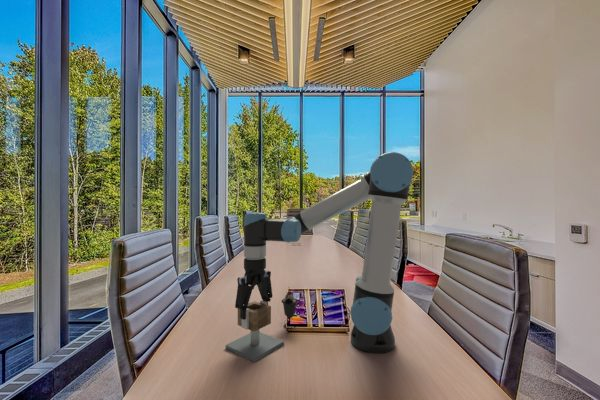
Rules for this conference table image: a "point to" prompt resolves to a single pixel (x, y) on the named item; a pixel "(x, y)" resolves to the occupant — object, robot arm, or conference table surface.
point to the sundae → (289, 305)
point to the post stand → (254, 345)
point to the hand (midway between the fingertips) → (254, 323)
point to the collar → (257, 315)
